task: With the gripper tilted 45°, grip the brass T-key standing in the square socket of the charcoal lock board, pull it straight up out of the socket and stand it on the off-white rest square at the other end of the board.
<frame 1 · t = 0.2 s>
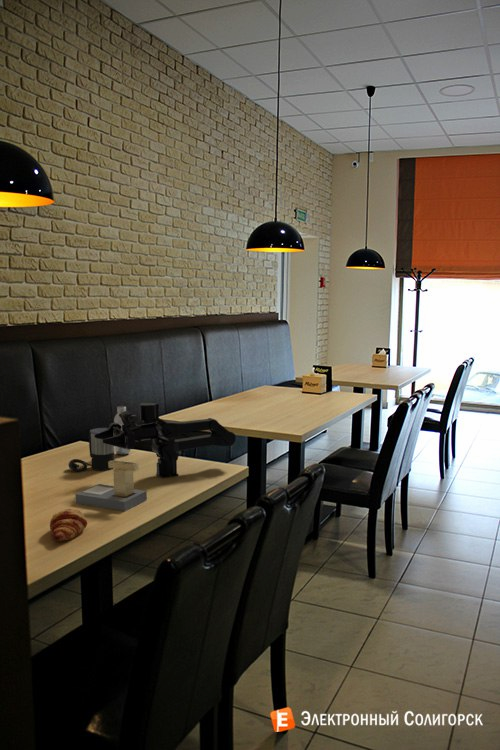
hand: (98, 438, 224), 17 cm above the table, tool horizontal, fingers open, 9 cm apart
milk frother: (92, 469, 247), on the table
lock board: (111, 501, 208), on the table
t key: (124, 503, 206), resting in lock board
plastic bottle: (123, 454, 269), on the table
croissant: (69, 532, 183), on the table
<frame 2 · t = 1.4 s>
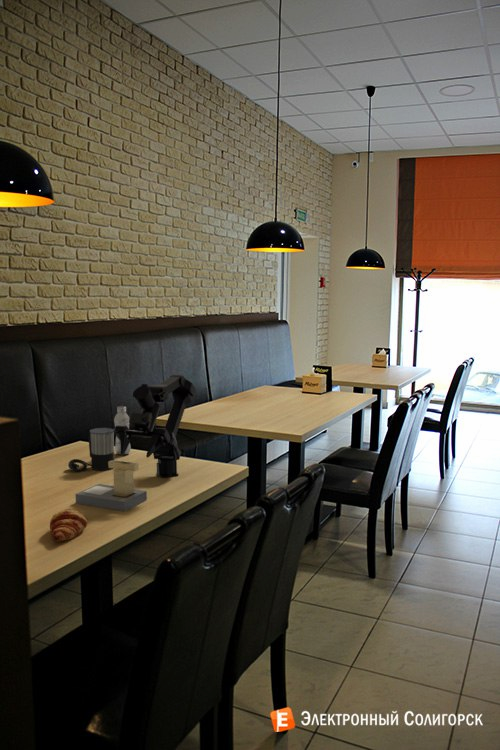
hand: (134, 456, 212), 14 cm above the table, tool tilted 45°, fingers open, 9 cm apart
nothing on the table moved.
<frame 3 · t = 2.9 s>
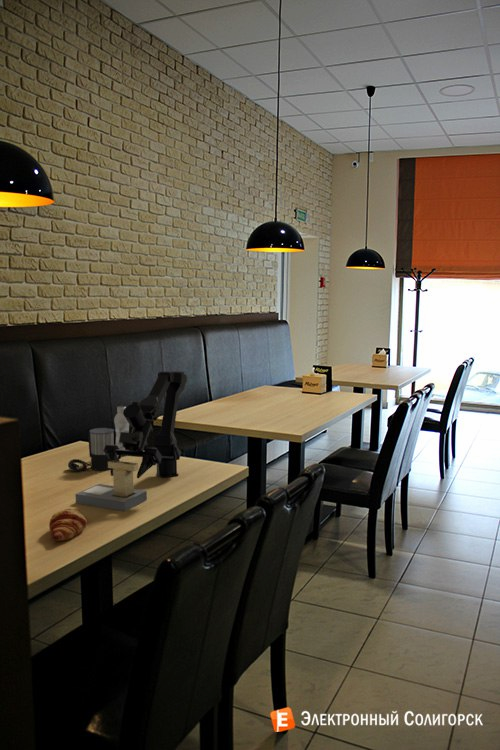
hand: (124, 476, 206), 9 cm above the table, tool tilted 45°, fingers open, 9 cm apart
t key: (124, 503, 206), resting in lock board, touching gripper
everything else where it was.
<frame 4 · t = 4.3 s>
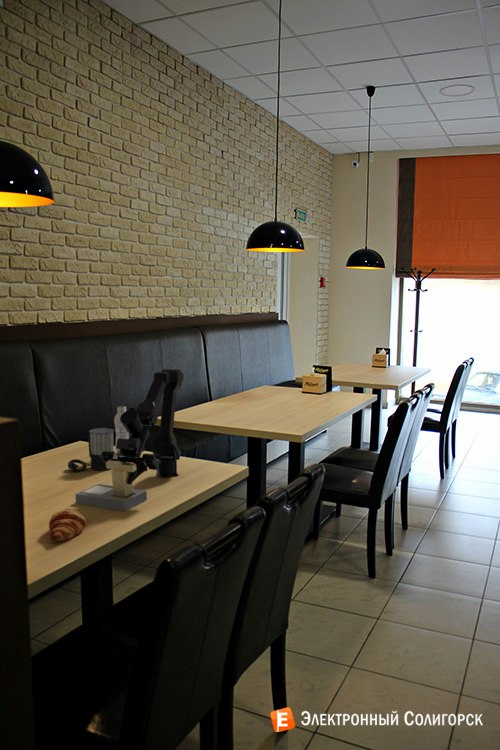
hand: (121, 483, 204), 7 cm above the table, tool tilted 45°, fingers closed on t key, 5 cm apart
t key: (124, 502, 206), resting in lock board, tilted 6°, touching gripper
everything else where it was.
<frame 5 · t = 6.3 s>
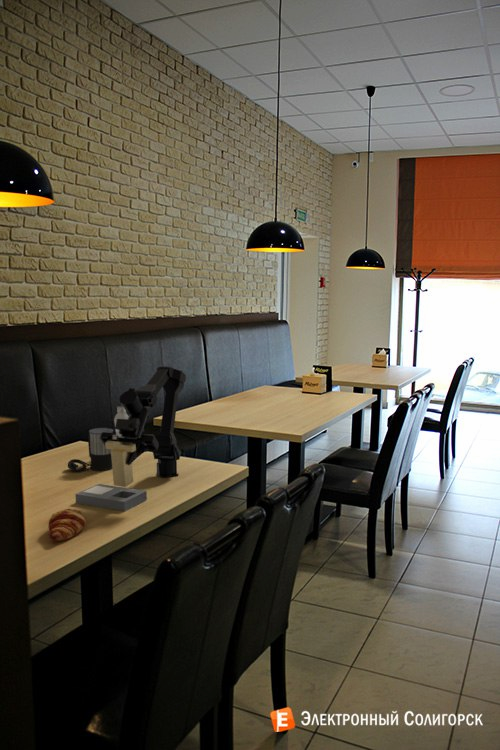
hand: (121, 463, 203), 13 cm above the table, tool tilted 45°, fingers closed on t key, 5 cm apart
t key: (123, 483, 206), point 7 cm above the table, tilted 7°, touching gripper
everything else where it was.
when the fingers open (11 cm above the table, at t = 8.5 s): t key drops 1 cm, resting on lock board.
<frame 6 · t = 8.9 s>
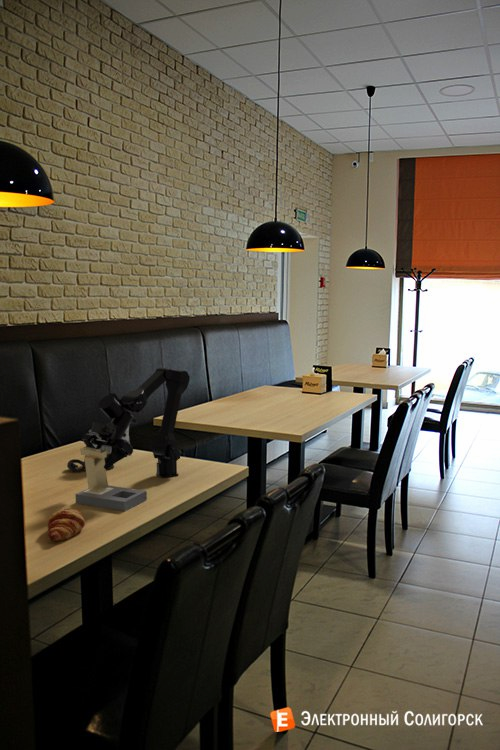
hand: (94, 466, 208), 11 cm above the table, tool tilted 45°, fingers open, 9 cm apart
t key: (98, 488, 210), point 3 cm above the table, tilted 7°, touching gripper, lock board
everything else where it was.
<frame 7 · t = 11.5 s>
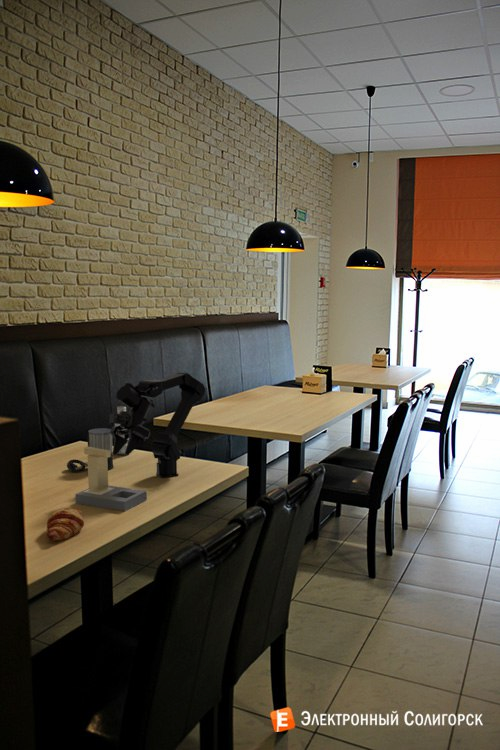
hand: (119, 454, 218), 13 cm above the table, tool tilted 35°, fingers open, 9 cm apart
t key: (98, 489, 210), point 3 cm above the table, touching lock board
everything else where it was.
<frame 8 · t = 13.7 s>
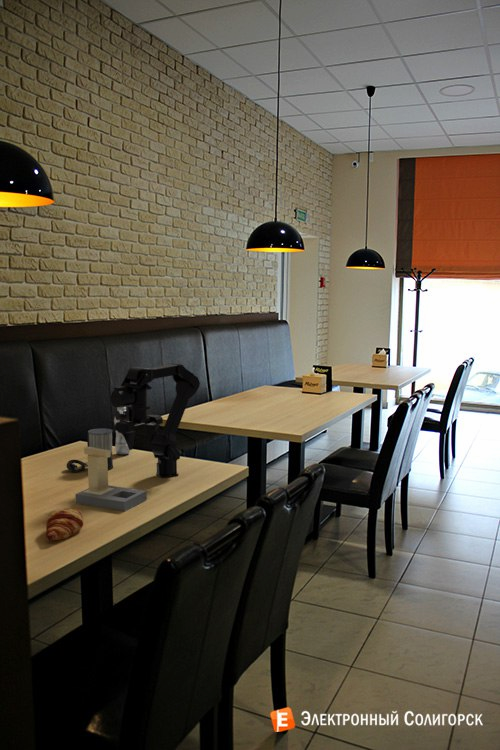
hand: (139, 447, 227), 13 cm above the table, tool pointing down, fingers open, 9 cm apart
at the end: t key inside the target area (0.3 cm from its centre), point 3.2 cm above the table; t key tilted 0°; the gripper is holding nothing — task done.
